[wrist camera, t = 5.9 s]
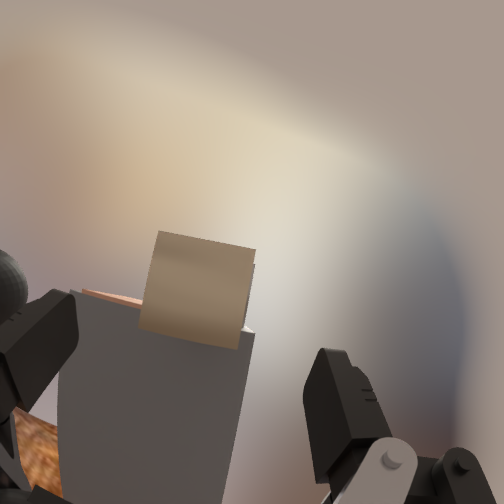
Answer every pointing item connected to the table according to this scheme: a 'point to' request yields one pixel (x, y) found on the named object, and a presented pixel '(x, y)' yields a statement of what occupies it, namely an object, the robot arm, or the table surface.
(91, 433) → the pedestal
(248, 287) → the beam
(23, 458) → the table surface
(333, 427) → the robot arm
